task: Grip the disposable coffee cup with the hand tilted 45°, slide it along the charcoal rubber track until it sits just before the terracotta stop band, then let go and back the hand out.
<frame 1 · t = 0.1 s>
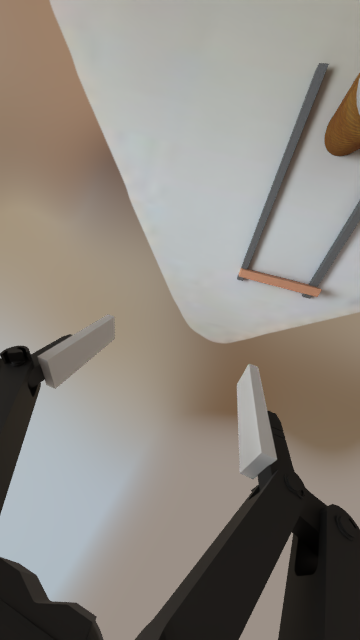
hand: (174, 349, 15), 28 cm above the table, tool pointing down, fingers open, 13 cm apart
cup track: (310, 207, 29), on the table
disposable coffee cup: (349, 128, 24), on the table
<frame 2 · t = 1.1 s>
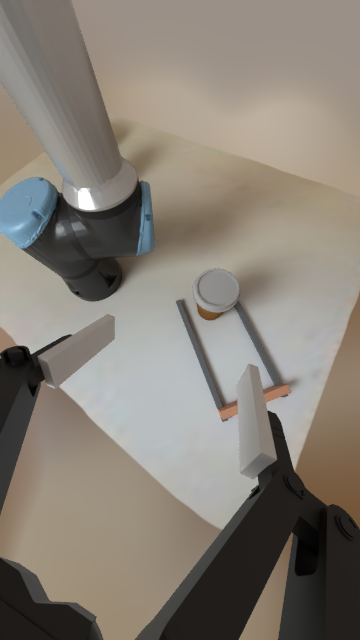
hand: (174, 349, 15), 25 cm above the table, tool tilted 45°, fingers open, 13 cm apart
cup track: (225, 344, 40), on the table
disposable coffee cup: (209, 309, 43), on the table
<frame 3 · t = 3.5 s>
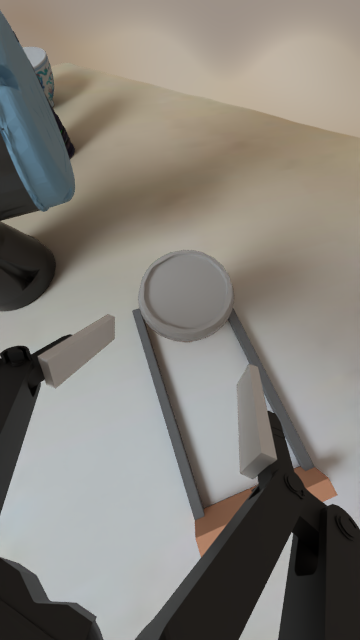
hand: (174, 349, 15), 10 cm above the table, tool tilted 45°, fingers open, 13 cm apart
chinaware: (43, 107, 49), on the table
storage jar: (57, 154, 42), on the table
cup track: (211, 384, 23), on the table
disposable coffee cup: (186, 323, 26), on the table
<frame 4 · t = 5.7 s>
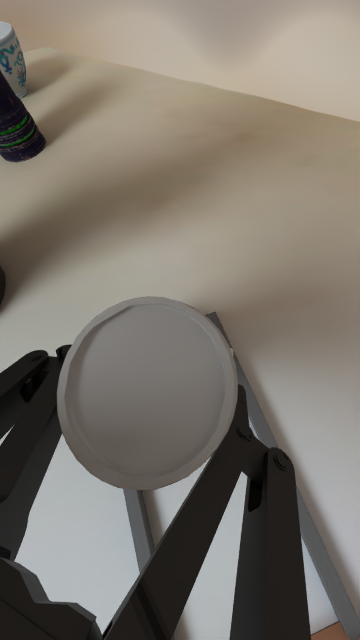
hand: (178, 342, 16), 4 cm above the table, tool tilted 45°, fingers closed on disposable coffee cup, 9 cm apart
chinaware: (15, 95, 42), on the table
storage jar: (24, 148, 35), on the table
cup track: (203, 470, 16), on the table
disposable coffee cup: (171, 372, 19), on the table, touching gripper
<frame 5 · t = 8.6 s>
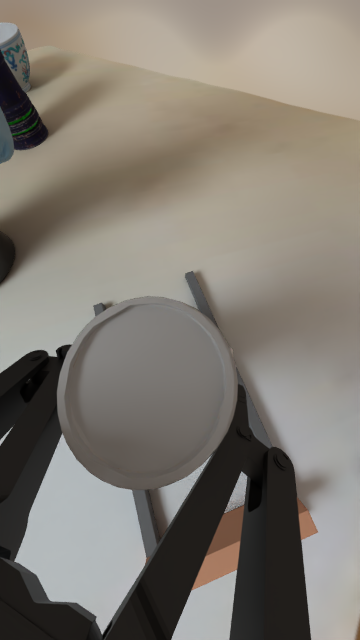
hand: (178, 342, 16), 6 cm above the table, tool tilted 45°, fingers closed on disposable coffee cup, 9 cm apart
chinaware: (20, 90, 46), on the table
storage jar: (29, 138, 38), on the table
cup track: (178, 391, 20), on the table
disposable coffee cup: (171, 372, 19), point 2 cm above the table, touching gripper
when the fingers open (5 cm above the table, at t = 11.5 s): disposable coffee cup moves 1 cm, on the table.
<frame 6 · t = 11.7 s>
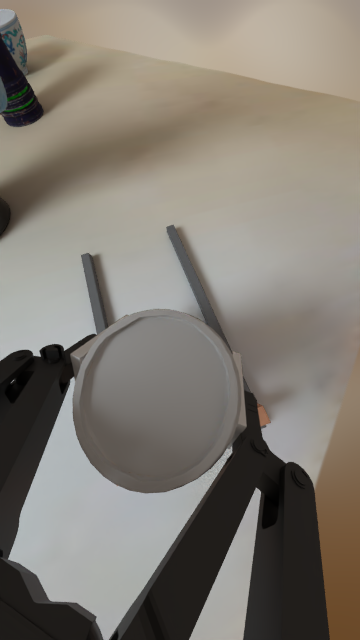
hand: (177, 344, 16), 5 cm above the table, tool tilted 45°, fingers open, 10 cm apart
chinaware: (18, 75, 48), on the table
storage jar: (25, 116, 41), on the table
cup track: (157, 326, 22), on the table
disposable coffee cup: (176, 383, 20), on the table, touching gripper
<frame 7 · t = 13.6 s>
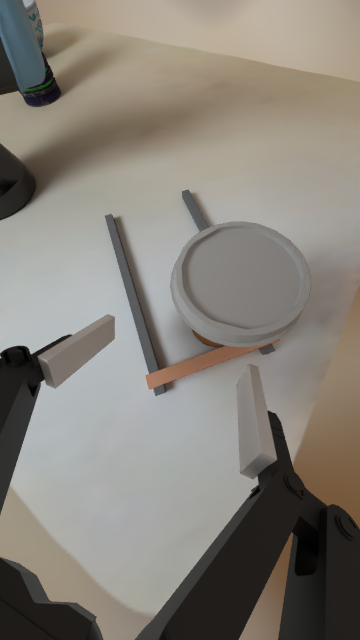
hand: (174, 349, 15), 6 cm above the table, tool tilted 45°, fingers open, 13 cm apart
chinaware: (34, 60, 50), on the table
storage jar: (44, 97, 43), on the table
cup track: (175, 275, 24), on the table
disposable coffee cup: (213, 324, 22), on the table, touching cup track
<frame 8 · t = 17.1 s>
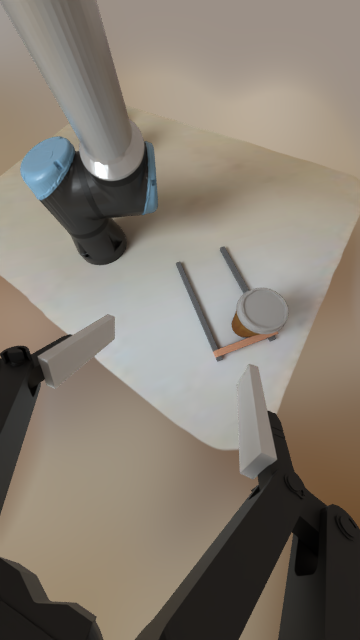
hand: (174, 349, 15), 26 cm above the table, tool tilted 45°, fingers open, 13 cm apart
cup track: (220, 298, 44), on the table
disposable coffee cup: (243, 325, 41), on the table, touching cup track
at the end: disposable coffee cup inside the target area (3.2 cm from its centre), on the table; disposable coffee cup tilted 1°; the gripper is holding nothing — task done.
